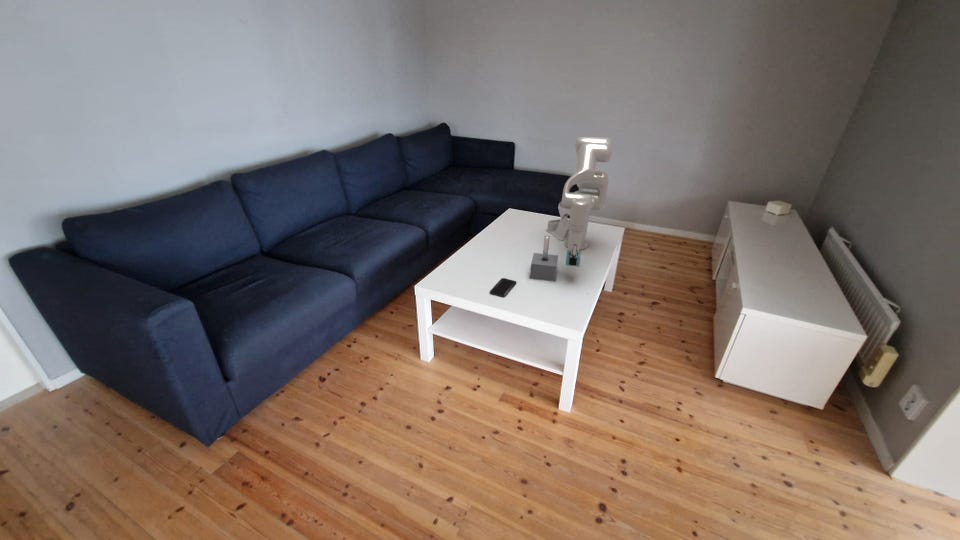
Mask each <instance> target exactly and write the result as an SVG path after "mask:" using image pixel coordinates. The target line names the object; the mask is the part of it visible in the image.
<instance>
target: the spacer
mask: <svg viewBox="0 0 960 540" xmlns="http://www.w3.org/2000/svg"><path fill="white" fill-rule="evenodd" d="M572 251H573V250H572ZM581 252H582V251H581V250H579V252H578V253H577V261H576V265H569V260H570V257H571V252H569V251H568V249H566V255H565V264H564V265H565V266H569V267H580V264H581V258H582V257H581V256H582V255H581V254H582V253H581ZM572 254H573V253H572Z"/></svg>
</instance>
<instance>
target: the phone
mask: <svg viewBox="0 0 960 540" xmlns="http://www.w3.org/2000/svg"><path fill="white" fill-rule="evenodd" d="M516 285H517V281H516V280H513V279H509V278H505V277H502V278H501V279H499V281H497V283H496V284H495V285H494V286H493V287H492V288H491V289H490V290H489V295H492V296H496V297H500V298H506V297H507V296H508V294H509V293H510V292H511V291H512V290H513V289H514V288H515V286H516Z"/></svg>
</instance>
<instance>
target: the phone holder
mask: <svg viewBox="0 0 960 540" xmlns="http://www.w3.org/2000/svg"><path fill="white" fill-rule="evenodd" d="M557 209H558V212H559V215H560V219H554V220H553V219H552V220H549V221H548V222H547V229H546V232H547V233H548V234H550V235H551V236H552V237H554V238H556V239H557V240H558V241H560V242H565V241H567V240H568V236H569V229H568V228H569V220H570V218H569V219H568V216H569V217H570V212H571V209H565V208H563V207H562V201H560V202H559V203H558V207H557Z"/></svg>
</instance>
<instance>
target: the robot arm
mask: <svg viewBox="0 0 960 540" xmlns="http://www.w3.org/2000/svg"><path fill="white" fill-rule="evenodd" d="M575 151H576V154H577V164H576V168H575V169H576V170H575V173H574V174H572V175H571V176H570V177H569V178H568V179H567V180H566V182H565V183H564V187H563V190H562V197H561V202H562V206H561V207H563V208H565V209H571V212H570V215H569V219H570V220H569V219H568V220H569V228H568V229H569V232H568V233H569V236H568V240H565V241H564V246H565V247H566V248H567V250H568V251H569V252H571V257H570V260H569V265H576V261H577V253H578V252H579V251H581V250H586V249H587V248H588V243H587V242H586V239H587V238H586V237H587V232H588V226H589V225H588V224H589V214H588V213H589V212H590V211H602V210H603V209H604V208H605V204H606V200H607V198H606V197H607V193H608V192H607V191H608V185H609V174H608V173H607V172H606V171H602V170H596V166H597V163H608V162H609V161H610V159H611V158H612V157H611V156H612V153H613V141H612V139H611V138H609V137H603V136H602V137H599V136H580V137H577V138H576V139H575ZM574 185H576V186H577V188H579V189H584V190H576V191H574V192H570V190H571V188H573V186H574ZM589 190H594V191H589ZM595 190H596V191H595ZM572 250H573V251H572ZM572 253H573V254H572Z"/></svg>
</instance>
